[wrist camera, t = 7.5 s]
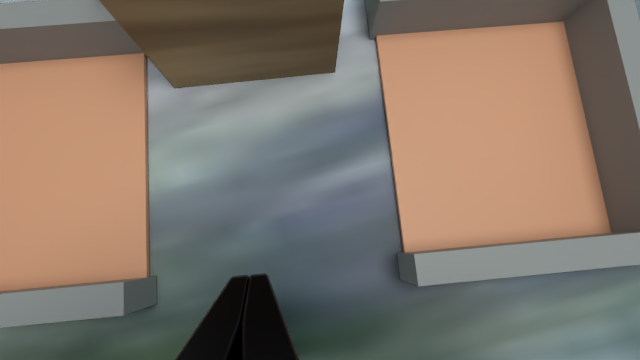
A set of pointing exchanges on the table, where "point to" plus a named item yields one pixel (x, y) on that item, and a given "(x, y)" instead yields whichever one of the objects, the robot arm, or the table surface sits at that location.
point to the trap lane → (403, 132)
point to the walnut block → (232, 37)
